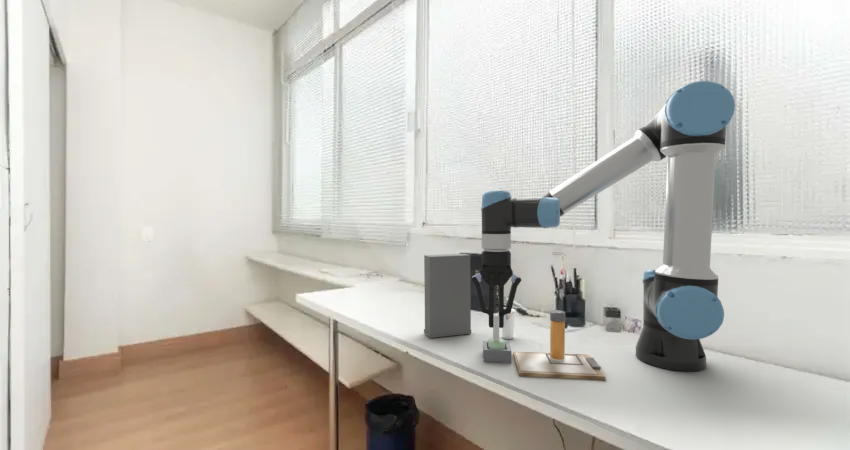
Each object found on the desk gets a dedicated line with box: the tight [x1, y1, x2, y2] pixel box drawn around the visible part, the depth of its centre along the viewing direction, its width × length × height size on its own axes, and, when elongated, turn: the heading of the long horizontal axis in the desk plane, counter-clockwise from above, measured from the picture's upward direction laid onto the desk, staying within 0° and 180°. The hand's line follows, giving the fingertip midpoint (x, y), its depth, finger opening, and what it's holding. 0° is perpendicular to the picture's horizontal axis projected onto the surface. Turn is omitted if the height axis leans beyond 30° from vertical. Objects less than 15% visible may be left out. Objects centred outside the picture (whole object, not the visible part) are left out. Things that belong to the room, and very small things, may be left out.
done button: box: [487, 337, 506, 349], centre depth 101 cm, size 4×4×4 cm
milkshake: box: [501, 305, 519, 340], centre depth 117 cm, size 4×5×10 cm
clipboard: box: [513, 351, 606, 381], centre depth 94 cm, size 19×14×1 cm
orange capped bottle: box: [549, 309, 566, 362], centre depth 96 cm, size 4×4×12 cm
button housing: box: [482, 340, 512, 364], centre depth 101 cm, size 7×7×3 cm
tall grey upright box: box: [423, 253, 472, 339], centre depth 121 cm, size 14×6×25 cm, turn 108°
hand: (496, 339), depth 101 cm, fingers closed
